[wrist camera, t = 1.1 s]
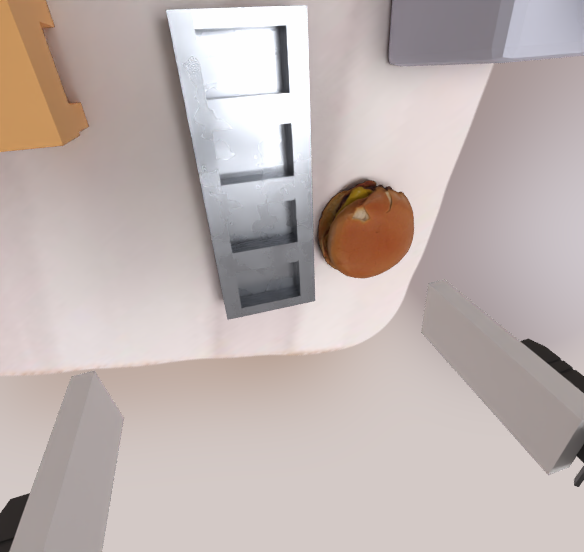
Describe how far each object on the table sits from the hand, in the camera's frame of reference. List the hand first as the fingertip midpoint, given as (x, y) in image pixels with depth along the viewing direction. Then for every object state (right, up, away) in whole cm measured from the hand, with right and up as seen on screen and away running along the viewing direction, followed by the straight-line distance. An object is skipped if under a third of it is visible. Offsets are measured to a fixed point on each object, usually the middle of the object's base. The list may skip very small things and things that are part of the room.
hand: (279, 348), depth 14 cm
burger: (+7, +8, +23) cm, 25 cm away
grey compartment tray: (-3, +11, +17) cm, 21 cm away
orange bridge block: (-17, +17, +9) cm, 26 cm away
